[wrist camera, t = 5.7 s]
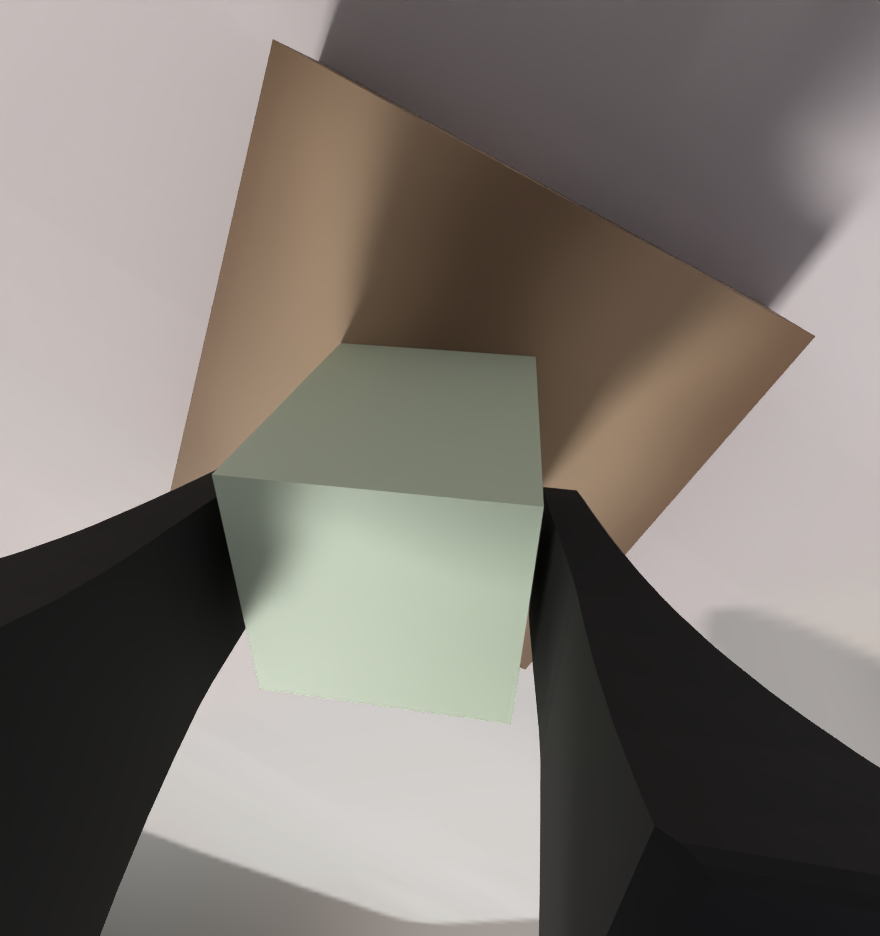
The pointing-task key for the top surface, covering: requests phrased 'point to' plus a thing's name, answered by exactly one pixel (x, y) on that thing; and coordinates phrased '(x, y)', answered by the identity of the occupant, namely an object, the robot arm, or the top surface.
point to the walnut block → (469, 297)
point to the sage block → (391, 530)
